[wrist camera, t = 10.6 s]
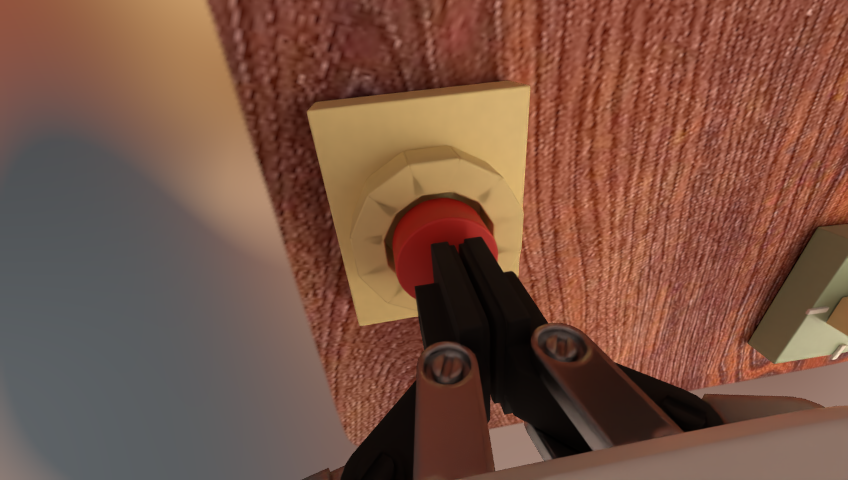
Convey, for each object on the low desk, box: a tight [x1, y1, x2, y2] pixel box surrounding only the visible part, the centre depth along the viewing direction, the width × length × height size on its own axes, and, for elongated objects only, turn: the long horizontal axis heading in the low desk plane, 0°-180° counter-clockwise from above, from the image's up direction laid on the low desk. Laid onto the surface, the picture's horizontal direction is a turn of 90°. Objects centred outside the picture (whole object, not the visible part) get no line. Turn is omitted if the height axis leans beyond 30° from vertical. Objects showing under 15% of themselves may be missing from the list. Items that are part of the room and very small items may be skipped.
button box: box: [307, 80, 530, 326], centre depth 15 cm, size 10×8×4 cm
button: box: [392, 198, 498, 299], centre depth 12 cm, size 4×4×2 cm
